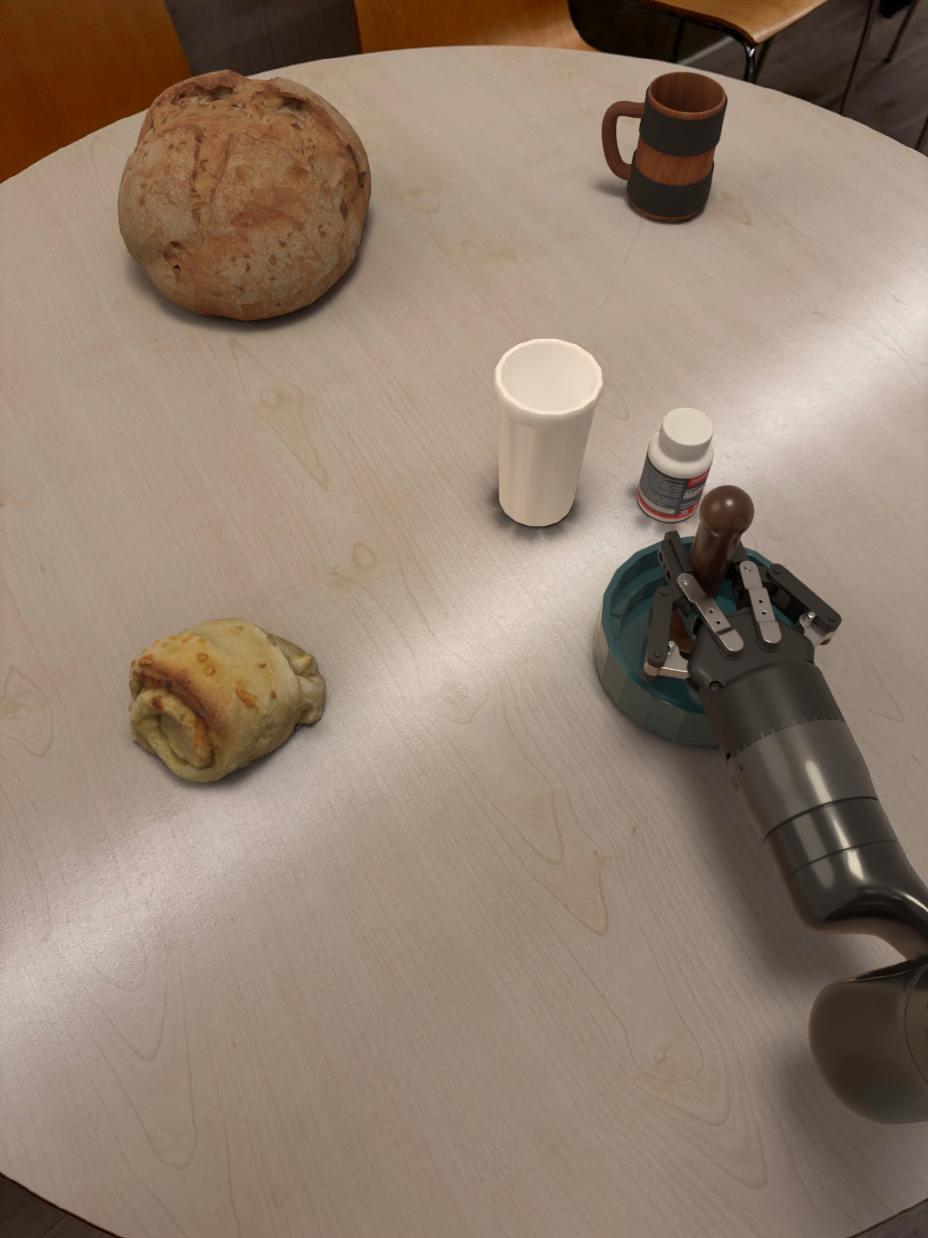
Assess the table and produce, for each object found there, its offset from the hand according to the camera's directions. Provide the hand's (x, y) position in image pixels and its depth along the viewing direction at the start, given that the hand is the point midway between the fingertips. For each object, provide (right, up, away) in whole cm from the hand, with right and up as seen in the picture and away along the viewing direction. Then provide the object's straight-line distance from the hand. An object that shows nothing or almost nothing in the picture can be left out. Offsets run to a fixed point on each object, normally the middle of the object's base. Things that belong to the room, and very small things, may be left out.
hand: (691, 534), depth 71 cm
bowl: (+2, -9, +7) cm, 12 cm away
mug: (+4, +39, +37) cm, 54 cm away
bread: (-37, +32, +33) cm, 59 cm away
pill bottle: (+1, +4, +16) cm, 16 cm away
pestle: (+1, -7, +6) cm, 9 cm away
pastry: (-33, -13, +4) cm, 36 cm away
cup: (-10, +4, +15) cm, 19 cm away
